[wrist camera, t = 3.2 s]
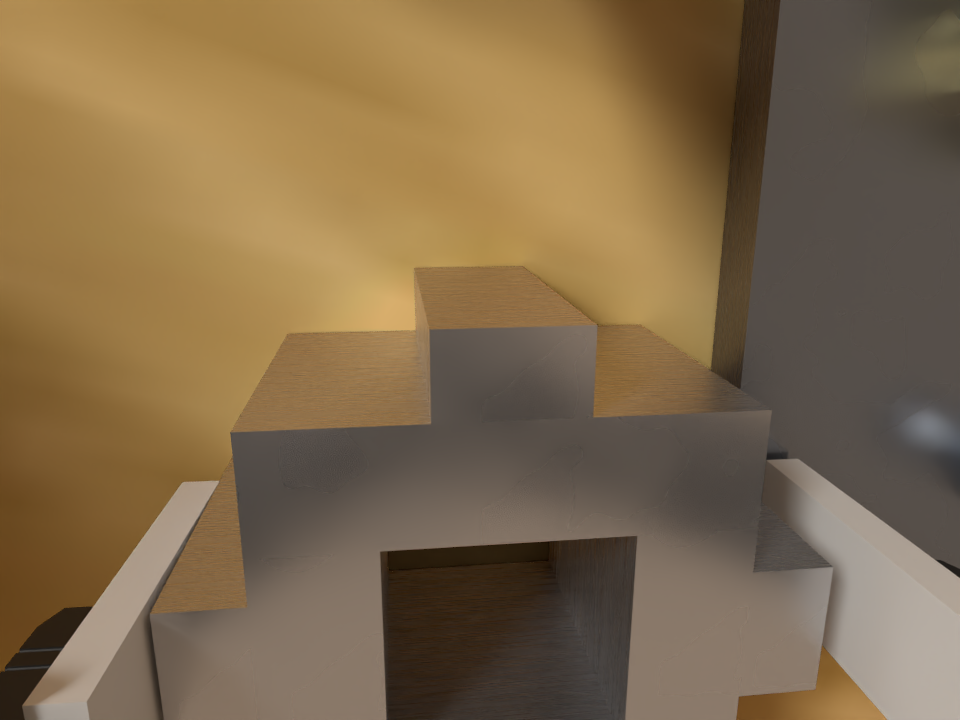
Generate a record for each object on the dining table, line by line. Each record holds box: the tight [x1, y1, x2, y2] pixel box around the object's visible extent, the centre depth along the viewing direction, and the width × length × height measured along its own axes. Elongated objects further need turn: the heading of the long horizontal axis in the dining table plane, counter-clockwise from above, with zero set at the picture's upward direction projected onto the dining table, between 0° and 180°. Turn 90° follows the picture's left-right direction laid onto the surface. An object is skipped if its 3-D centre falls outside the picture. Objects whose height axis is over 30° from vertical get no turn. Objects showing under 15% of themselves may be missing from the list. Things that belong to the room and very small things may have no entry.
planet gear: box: [150, 266, 833, 720], centre depth 15 cm, size 11×11×6 cm
